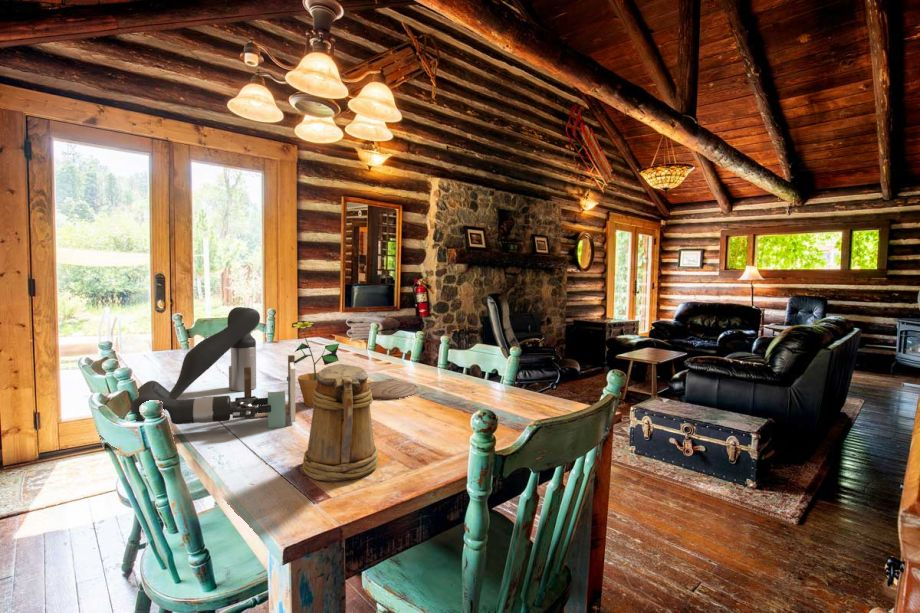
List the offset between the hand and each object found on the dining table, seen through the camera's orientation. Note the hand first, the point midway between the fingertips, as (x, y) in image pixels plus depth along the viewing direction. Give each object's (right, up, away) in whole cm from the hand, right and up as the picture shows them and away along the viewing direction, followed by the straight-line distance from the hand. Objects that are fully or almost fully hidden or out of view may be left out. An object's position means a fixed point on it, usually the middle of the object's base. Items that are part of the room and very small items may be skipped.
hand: (271, 404), depth 142 cm
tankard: (+30, -10, -30) cm, 44 cm away
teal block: (+1, -7, +2) cm, 7 cm away
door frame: (-4, -6, +10) cm, 12 cm away
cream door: (+4, -5, +6) cm, 9 cm away
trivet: (+29, -5, +44) cm, 53 cm away
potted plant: (+6, -5, +25) cm, 26 cm away
